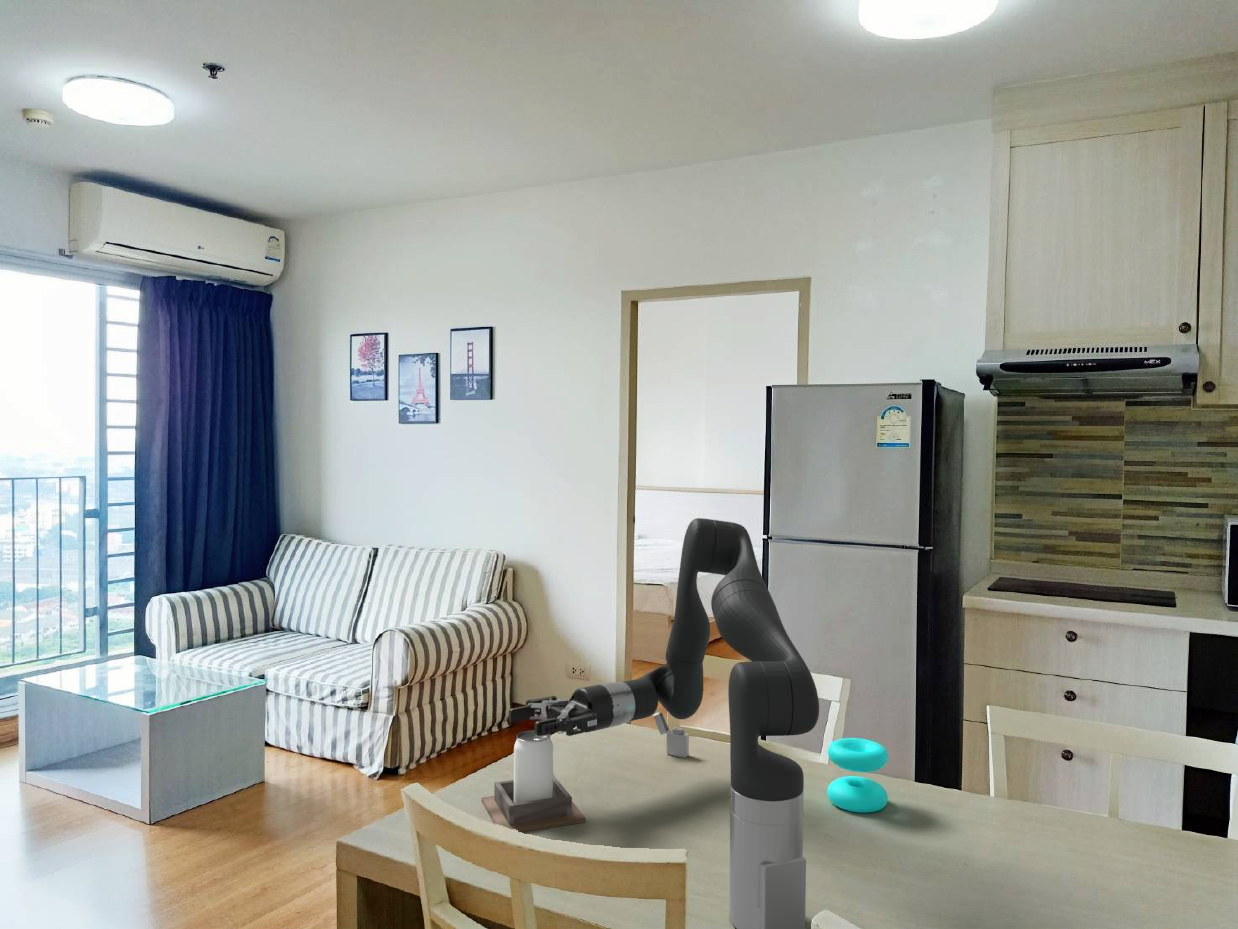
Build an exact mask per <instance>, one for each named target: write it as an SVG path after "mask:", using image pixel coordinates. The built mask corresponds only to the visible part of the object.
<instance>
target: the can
mask: <svg viewBox="0 0 1238 929" xmlns="http://www.w3.org/2000/svg"><path fill="white" fill-rule="evenodd" d="M515 740H516V741H515V743H514V745H513V746H514V747H513V780H514V803H520V802H527V801H534V800H541V799H548V798H553V775H554V744H553V741H552V739H551V734H546V735H542V736H537V735H535V729H533V730H525V731H522V732H519V733H518V734H516V739H515Z"/></svg>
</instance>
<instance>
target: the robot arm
mask: <svg viewBox="0 0 1238 929" xmlns="http://www.w3.org/2000/svg"><path fill="white" fill-rule="evenodd" d="M683 538H684V539H683V542H682V549H681V550H682V551H681V556H680V562H679V565H680V566H679V572H678V579H677V580H678V581H677V588H676V599H675V607H674V608H675V609H674V610H675V611H674V616H673V621H672V626H671V630H670V632H669V633H670V634H669V638H668V641H667V646H666V649H665V660H666V663H667V664H662V665H659V666H658V667H656V668H654V669H653V670H651V671H648V672H647V673H645V674H643V675H642V676H640V677H638V678H636V679H631V680H625V681H619V682H618V681H616V682H606V683H600V684H596V685H594V684H593V685H590V686H589V685H588V686H584V687H579V688H577V689H576V690H574V692H573V693H572V694H571V697H570V699H569V700H568V699H566V698H559V699H557V698H558V697H557V696H555V695H552V696H544V697H539V698H533V699H527V700H525V705H523V706H518V707H517V706H516V707H513V708H510V709H509V711H508V721H509V722H511V723H514V724H515V723H518V722H522V721H523V722H524V721H527V720H538V721H536V722H534V730H535V735H537V736H542V735H546V734H550V735H551V734H554V733H556V734H560V735H562V734H564V733H565V736H569V737H571V736H575V735H579V734H584V733H591V732H596V731H600V730H604V729H605V730H606V729H609V728H613V727H617V726H618V727H619V726H621V725H623V724H626V723H629V722H633V721H638V720H643V719H646V718H648V717H651V716H653V715H654V714H655V713H656V711H657V709H658V707H659V703H660V704H661V706H662V707H663V709H664V710H666V711H667V713H669V715H670V716H672V717H673V718H675V719H676V720H687V719H689V718H691V717H692V716H693V715H695V713H697V712H698V710H699V708H700V706H701V705H702V702H703V696H704V659H705V656H706V652H707V650H708V649H707V648H708V645H709V642H710V637H711V624H710V619H709V617H708V614H707V611H706V609H705V606H704V604H703V602H702V599H701V597H700V594H699V590H698V584H697V581H698V574H699V573H707V574H713V575H721V576H724V577H722V579H720V581H719V582H718V583H717V585H716V586H715V588H714V590H713V592H712V596H711V598H710V599H711V600H710V605H711V611H712V612H711V613H712V616H713V617H714V621H715V624H716V628H717V631H718V633H719V635H720V637H721V639H723V641H724V642H725V643H726V644H727V645H728V646H729V647H730V648H731V649H733V650H734V651H736V652H737V653H738V654H739V655H741V656H742V657H744V658H745V659H747V660H749V661H740V662H739V661H738V662H736V663H735V664H734V665H733V666H732V668H731V670H730V672H729V673H730V674H729V679H728V692H727V693H728V695H727V696H728V713H729V715H728V716H729V734H730V735H729V736H730V738H729V739H730V741H729V743H730V746H729V747H730V749H729V751H730V752H729V754H730V756H729V757H730V759H729V760H730V807H729V809H730V810H729V819H730V820H729V822H730V823H729V904H728V905H729V910H728V911H729V915H728V916H729V921H730V923H731V925H732V926H733V927H734V928H736V929H806V917H807V916H806V914H807V913H806V908H807V905H806V904H807V902H806V901H807V900H806V899H807V886H806V885H807V860H806V857H804V850H803V848H804V845H803V844H804V838H803V837H804V789H805V788H804V787H805V786H804V784H805V782H804V781H805V780H804V779H805V778H804V772H803V768H802V767H801V765H800V764H799V763H798V762H796V761H795V760H793V759H791V758H790V757H787V756H786V755H782V754H780V753H776V752H774V751H771V750H768V749H767V748H765V747H764V746H762V745H760V744H759V737H783V736H784V737H786V736H799V735H804V734H806V733H809V732H811V731H812V730H813V729H814V728H815V727H816V725H817V723H818V720H819V717H820V701H819V696H818V695H819V694H818V690H817V687H816V683H815V681H814V680H815V679H814V678H813V676H812V673H811V672H810V669H809V668H808V666H807V664H806V662H805V660H804V659H803V657H802V656H801V654H800V652H799V651H798V649H797V648H796V646H795V645H794V643H793V642H792V640H791V638H790V637H789V635H788V633H787V631H786V629H785V626H784V625H783V622H782V620H781V617H780V614H779V612H778V609H777V606H776V603H775V601H774V599H773V597H772V595H771V592H770V591H769V589H768V587H767V585H766V583H765V581H764V577H763V576H762V573H761V571H760V570H759V569H760V568H759V566H758V563H757V562H758V561H757V558H756V555H755V550H754V546H753V543H752V540H751V537H750V534H749V532H748V530H747V528H746V527H745V526H743V525H742V524H740V523H737V522H732V521H724V520H718V519H717V520H716V519H711V518H703V517H701V518H699V517H698V518H694V519H692V520H691V521H690V523H688V525H687V529H686V531H685V534H684V537H683ZM536 708H537V709H536ZM547 714H548V715H547Z"/></svg>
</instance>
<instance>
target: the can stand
mask: <svg viewBox="0 0 1238 929" xmlns="http://www.w3.org/2000/svg"><path fill="white" fill-rule="evenodd" d="M493 786H494V792H493V793H494V794H493V795H490V796H483V797H481V802H482V804H483V806H484V808H485V810H486V812H487V813H488V815H489V817H490V818H491V821H492V822H493V824H494V823H496V824H499V825H503V826H505V827H508V828H510V829H516V830H518V831H521V832H520V833H523V832H529V831H536V830H542V829H547V828H548V829H549V828H554V827H556V828H557V827H560V826H567V825H574V824H580V823H586V821H587V818H586V816H585V815H584V814H583V812H582V811H581V810H580V809H579V808H578V807H577V805H576V804H575V803H574V801H573V797H572V795H571V794H570V793H569V792H568V791H567V789H566V788H565V787H564V786H563V785H562V783H561V782H560V781H559V780H558V778H557V777H556V776H555V775H554V774H553V798H548V799H541V800H534V801H527V802H520V803H514V779H511V780H504V781H496V782H494V784H493Z"/></svg>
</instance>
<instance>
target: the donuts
mask: <svg viewBox="0 0 1238 929" xmlns="http://www.w3.org/2000/svg"><path fill="white" fill-rule="evenodd" d="M827 756H828V757H829V759H830V761H831V762H832V763H833V764H834V765H835V766H837V767H839V768H841V769H843V770H846V771H850V772H854V773H871V772H876V771H878V770H881V769H883V768H884V767H885V766H886V765H887V763H888V760H889V753H888V750H887V749H886V748H885V746H883V745H882V744H880V743H878V742H875V741H873V740H869V739H866V738H857V737H844V738H839V739H836V740H834V741H832V742H831V743H830V745H829V746H828V747H827ZM826 791H827V792H826V793H827V794H826V795H827V798H828V799H829V801H830V802H831V803H832V804H833V805H834V806H836V807H838V808H840V809H842V810H845V811H849V812H854V813H874V812H878V811H880V810H882V809H883V808H885V807H886V806H887V804H888V801H889V797H888V796H889V795H888V793H887V791H886V789H885V788H884V786H882V785H881V784H880V783H879V782H877V781H874V780H873V779H870V778H868V777H863V776H858V775H857V776H856V775H855V776H854V775H851V776H849V775H848V776H842V777H838V778H836V779H835V780H833V781H832V782H831V783H830V784H829V785H828V787H827V790H826Z"/></svg>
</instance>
